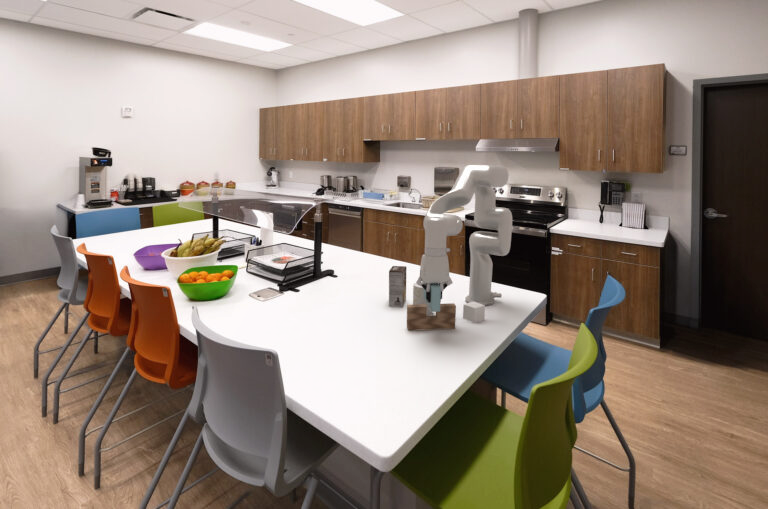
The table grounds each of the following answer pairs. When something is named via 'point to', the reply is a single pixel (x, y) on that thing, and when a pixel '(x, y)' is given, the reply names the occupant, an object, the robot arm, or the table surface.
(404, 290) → the coffee box
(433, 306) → the teal slotted board
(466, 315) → the white cube
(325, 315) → the table surface
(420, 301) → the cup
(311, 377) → the table surface
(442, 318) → the walnut slotted board
